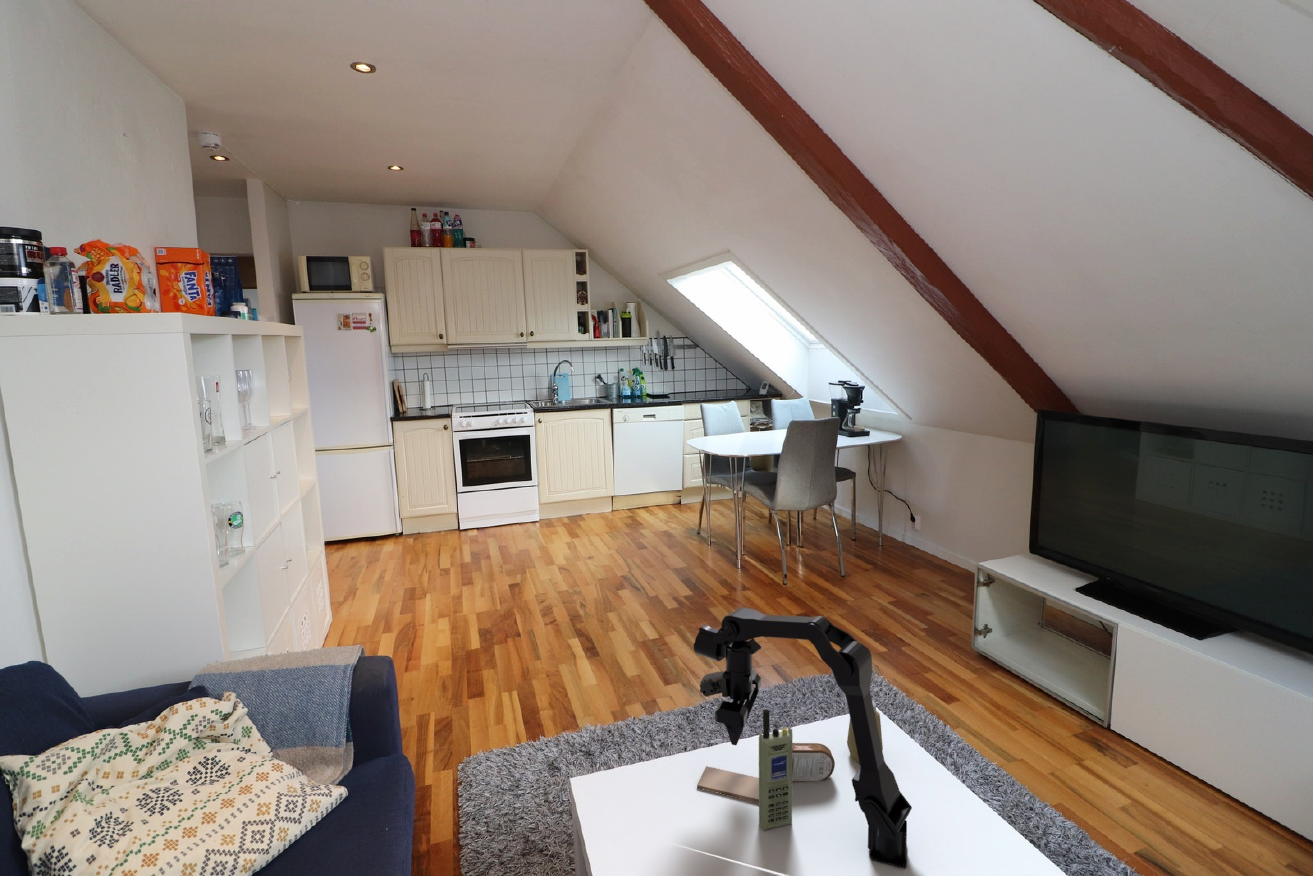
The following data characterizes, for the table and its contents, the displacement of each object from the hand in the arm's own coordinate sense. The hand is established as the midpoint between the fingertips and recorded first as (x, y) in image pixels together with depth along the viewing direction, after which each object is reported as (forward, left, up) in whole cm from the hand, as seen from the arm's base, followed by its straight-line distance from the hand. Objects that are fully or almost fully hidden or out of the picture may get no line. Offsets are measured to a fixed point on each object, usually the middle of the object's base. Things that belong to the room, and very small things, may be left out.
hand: (739, 733), depth 140 cm
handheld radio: (-10, +10, -12) cm, 19 cm away
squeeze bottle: (-26, -18, -12) cm, 34 cm away
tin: (-13, -5, -12) cm, 18 cm away
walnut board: (0, +2, -12) cm, 12 cm away
